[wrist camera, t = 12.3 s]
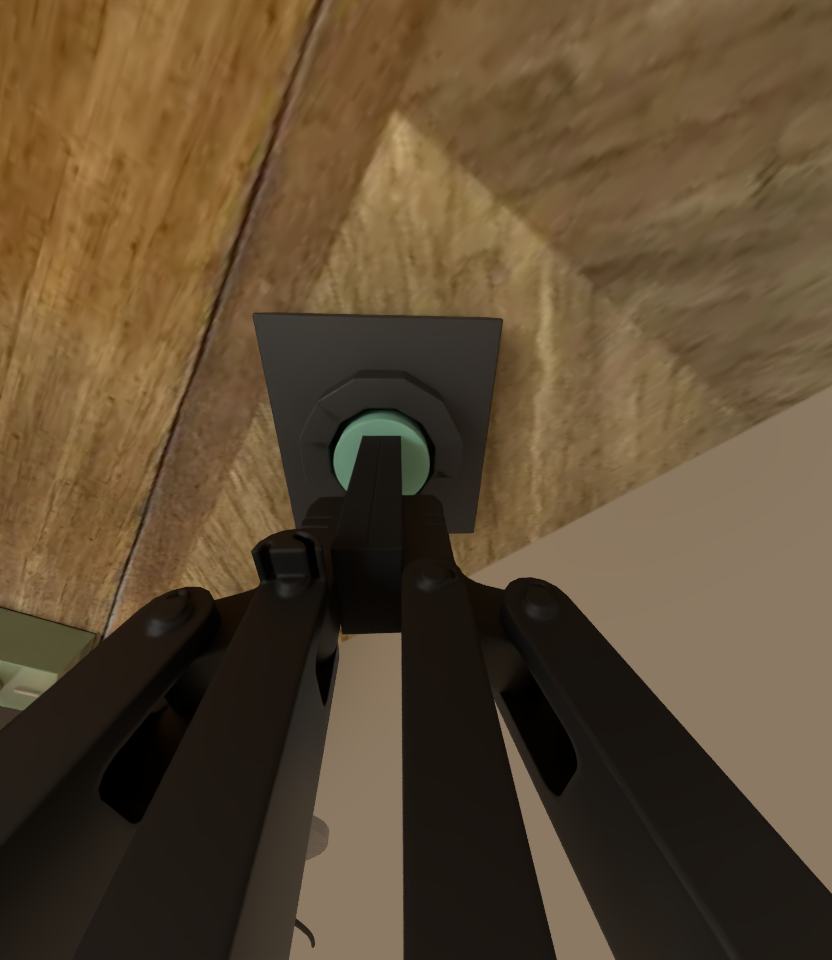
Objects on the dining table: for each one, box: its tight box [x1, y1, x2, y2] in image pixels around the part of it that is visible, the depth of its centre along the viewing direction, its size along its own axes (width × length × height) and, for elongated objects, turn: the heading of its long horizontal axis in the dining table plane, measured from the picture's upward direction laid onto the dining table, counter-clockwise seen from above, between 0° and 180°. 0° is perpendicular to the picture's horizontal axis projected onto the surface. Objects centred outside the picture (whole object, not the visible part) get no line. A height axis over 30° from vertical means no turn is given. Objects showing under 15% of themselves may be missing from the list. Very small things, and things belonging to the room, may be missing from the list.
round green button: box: [334, 408, 430, 495], centre depth 14 cm, size 4×4×2 cm
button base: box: [253, 313, 503, 534], centre depth 15 cm, size 11×10×4 cm
